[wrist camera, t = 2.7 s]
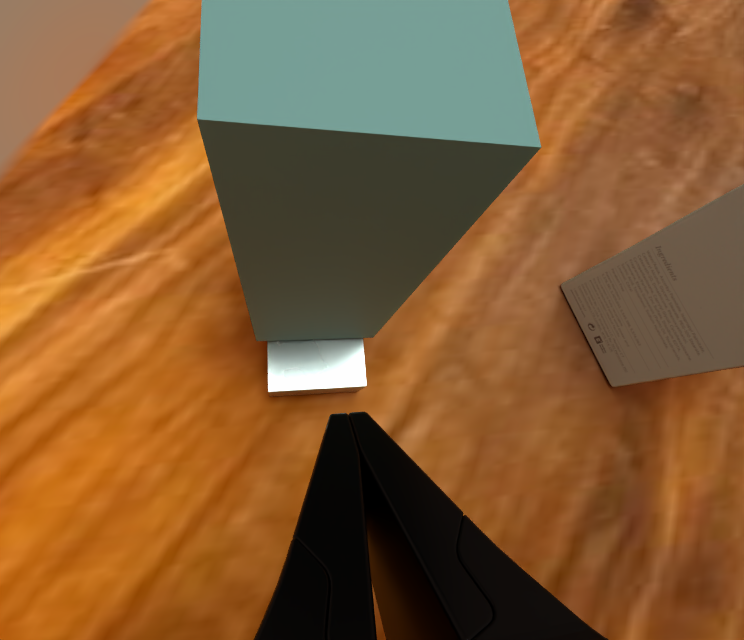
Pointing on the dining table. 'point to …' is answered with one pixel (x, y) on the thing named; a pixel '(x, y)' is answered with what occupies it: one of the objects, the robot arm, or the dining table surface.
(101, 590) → the dining table surface
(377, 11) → the tall teal pillar
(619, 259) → the small box
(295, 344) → the rail
